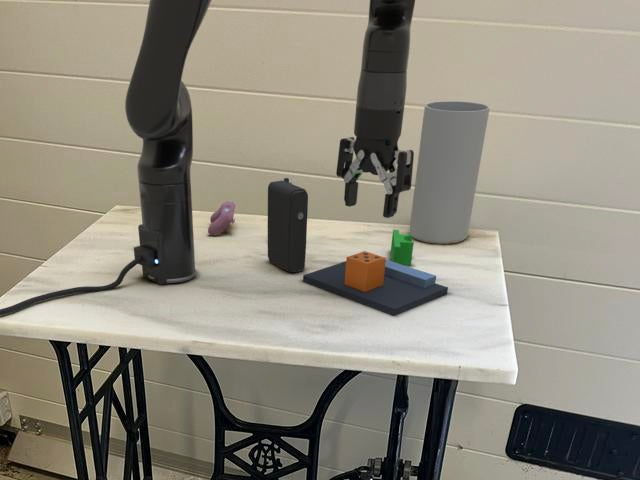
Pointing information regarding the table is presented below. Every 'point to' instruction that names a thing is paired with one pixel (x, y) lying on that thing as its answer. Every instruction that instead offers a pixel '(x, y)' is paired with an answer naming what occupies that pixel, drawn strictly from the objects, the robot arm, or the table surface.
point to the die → (365, 271)
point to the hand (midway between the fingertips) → (369, 211)
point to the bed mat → (382, 287)
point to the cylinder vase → (447, 170)
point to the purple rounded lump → (222, 218)
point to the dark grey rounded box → (287, 225)
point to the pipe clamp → (401, 248)
